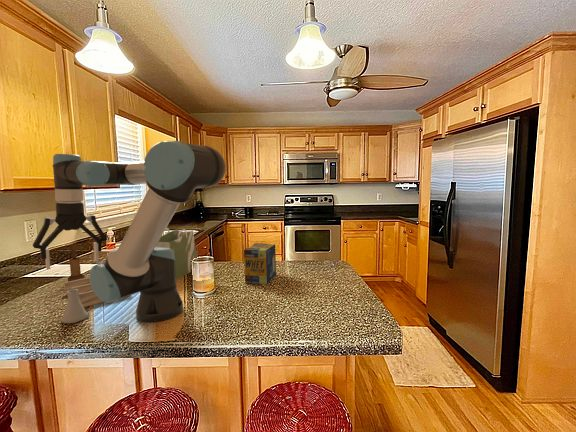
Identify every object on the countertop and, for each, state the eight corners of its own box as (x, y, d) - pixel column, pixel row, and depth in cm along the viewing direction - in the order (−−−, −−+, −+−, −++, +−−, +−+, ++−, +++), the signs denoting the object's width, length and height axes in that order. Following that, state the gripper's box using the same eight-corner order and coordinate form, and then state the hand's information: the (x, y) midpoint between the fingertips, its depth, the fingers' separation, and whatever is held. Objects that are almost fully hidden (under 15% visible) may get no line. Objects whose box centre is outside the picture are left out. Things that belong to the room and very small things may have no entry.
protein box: (244, 283, 136) (243, 249, 134) (256, 273, 151) (255, 242, 149) (267, 285, 133) (265, 250, 132) (276, 274, 148) (275, 243, 146)
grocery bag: (174, 283, 140) (170, 233, 137) (145, 282, 141) (141, 233, 139) (201, 264, 171) (199, 223, 169) (177, 264, 173) (175, 224, 170)
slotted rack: (131, 294, 126) (130, 281, 126) (80, 307, 113) (79, 294, 112) (112, 283, 141) (111, 272, 140) (65, 294, 128) (64, 282, 127)
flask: (74, 324, 99) (71, 295, 98) (56, 323, 100) (53, 294, 99) (93, 315, 106) (90, 287, 105) (75, 314, 107) (72, 286, 106)
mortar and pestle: (82, 282, 144) (79, 245, 142) (66, 284, 141) (62, 246, 139) (86, 278, 150) (82, 242, 148) (70, 280, 147) (66, 243, 146)
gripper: (108, 199, 112) (111, 256, 114) (18, 202, 94) (23, 268, 97) (115, 201, 106) (117, 260, 109) (20, 204, 89) (26, 274, 92)
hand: (73, 264), depth 103 cm, fingers open, 13 cm apart
